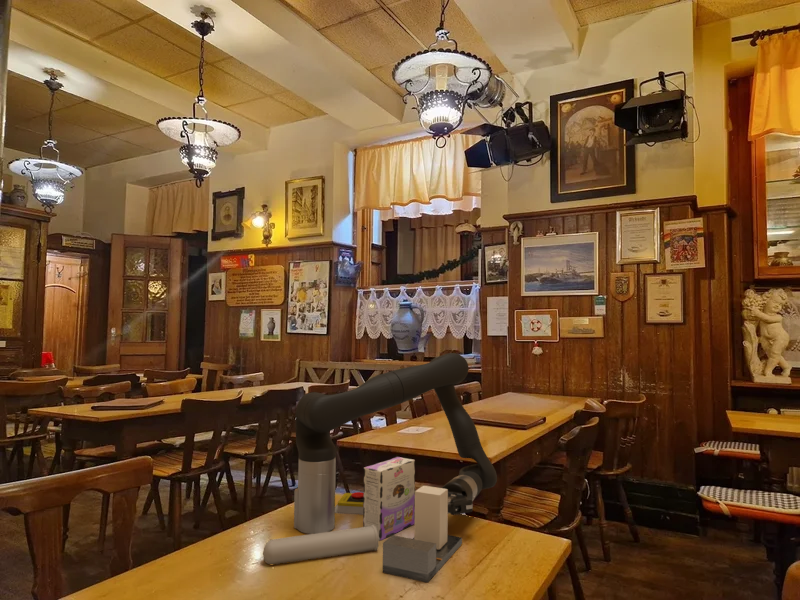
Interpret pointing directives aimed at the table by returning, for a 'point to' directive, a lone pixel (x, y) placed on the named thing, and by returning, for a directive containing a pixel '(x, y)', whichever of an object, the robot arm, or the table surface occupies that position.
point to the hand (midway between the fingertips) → (435, 513)
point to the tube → (321, 545)
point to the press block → (431, 515)
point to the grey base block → (416, 557)
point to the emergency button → (351, 503)
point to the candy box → (389, 496)
